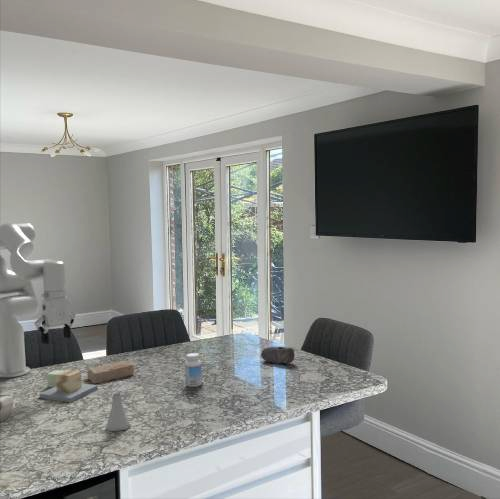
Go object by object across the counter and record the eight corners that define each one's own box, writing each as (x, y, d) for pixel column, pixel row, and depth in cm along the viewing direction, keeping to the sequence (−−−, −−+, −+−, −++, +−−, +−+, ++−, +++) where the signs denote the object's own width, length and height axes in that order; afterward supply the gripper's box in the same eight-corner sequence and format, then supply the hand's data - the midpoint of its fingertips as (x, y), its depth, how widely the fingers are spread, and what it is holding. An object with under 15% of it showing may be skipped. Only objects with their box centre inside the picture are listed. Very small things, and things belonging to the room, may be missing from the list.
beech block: (56, 390, 190) (55, 374, 190) (68, 385, 196) (67, 369, 195) (69, 392, 188) (69, 375, 187) (81, 387, 193) (80, 371, 193)
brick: (94, 384, 202) (93, 372, 202) (86, 379, 209) (86, 367, 209) (135, 375, 212) (134, 364, 212) (126, 371, 219) (126, 359, 218)
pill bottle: (205, 383, 199) (204, 353, 198) (196, 388, 193) (195, 357, 192) (191, 381, 201) (190, 351, 201) (182, 386, 196) (181, 356, 195)
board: (39, 397, 188) (39, 393, 188) (67, 385, 201) (67, 381, 201) (70, 402, 182) (70, 398, 182) (97, 389, 195) (97, 385, 195)
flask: (108, 423, 163) (106, 391, 162) (132, 421, 164) (130, 389, 163) (103, 432, 156) (102, 399, 155) (128, 431, 156) (127, 397, 156)
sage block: (47, 386, 200) (46, 373, 200) (57, 382, 205) (56, 370, 204) (58, 388, 198) (57, 375, 198) (67, 384, 203) (66, 371, 202)
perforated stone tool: (258, 362, 225) (257, 345, 224) (264, 359, 229) (264, 343, 228) (289, 367, 216) (289, 350, 216) (295, 363, 221) (295, 347, 220)
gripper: (41, 299, 188) (43, 347, 189) (80, 292, 202) (81, 336, 204) (27, 297, 192) (29, 344, 193) (67, 290, 206) (68, 334, 208)
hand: (56, 340), depth 198 cm, fingers open, 9 cm apart
